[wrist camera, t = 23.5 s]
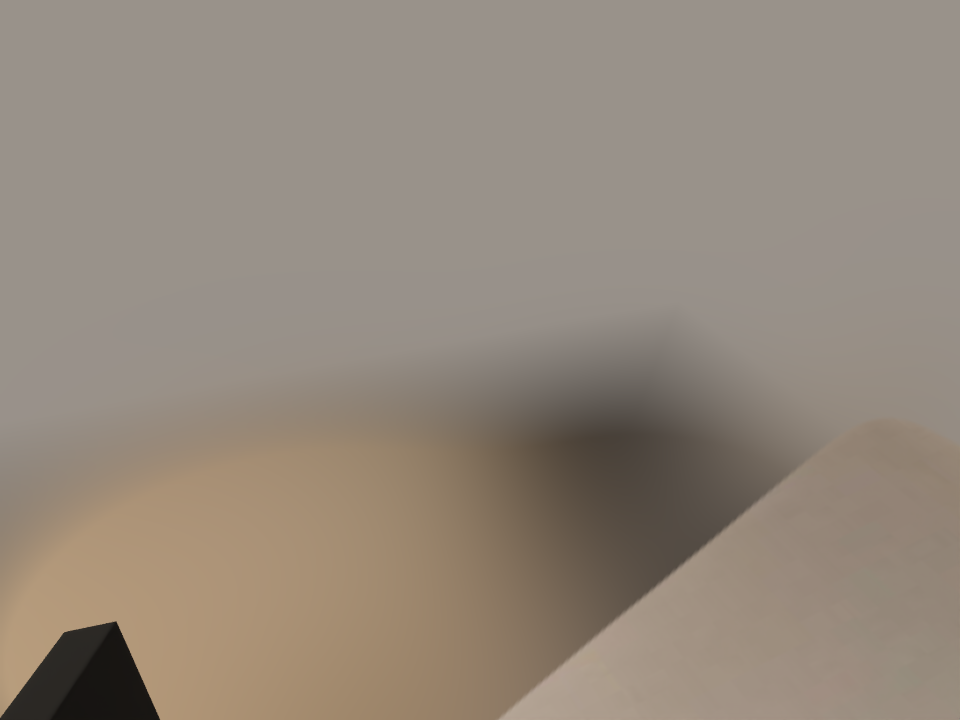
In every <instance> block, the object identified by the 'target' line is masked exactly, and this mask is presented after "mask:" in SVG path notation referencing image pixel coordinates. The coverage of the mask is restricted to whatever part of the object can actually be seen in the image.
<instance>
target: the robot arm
mask: <svg viewBox="0 0 960 720" xmlns="http://www.w3.org/2000/svg"><path fill="white" fill-rule="evenodd" d="M0 720H160V719H159V716H158V714H157V712H156V709H155V707H154V705H153V703H152V701H151V698H150V696H149V694H148V692H147V689H146V687H145V685H144V683H143V680H142V678H141V676H140V674H139V672H138V669H137V667H136V665H135V662H134V660H133V658H132V656H131V653H130V651H129V649H128V647H127V644H126V642H125V640H124V638H123V635H122V633H121V631H120V629H119V626H118V624H117V622H112V623H106V624H102V625H97V626H92V627H87V628H82V629H78V630H73V631H68V632H64V633H63V635H62V636H61V637H60V639H59V640H58V641H57V643H56V644H55V645H54V647H53V648H52V650H51V651H50V652H49V654H48V655H47V656H46V657H45V659H44V660H43V662H42V663H41V664H40V665H39V667H38V668H37V670H36V671H35V672H34V674H33V675H32V676H31V678H30V679H29V680H28V682H27V683H26V684H25V686H24V687H23V688H22V690H21V691H20V693H19V694H18V695H17V696H16V698H15V699H14V700H13V702H12V703H11V705H10V706H9V707H8V708H7V710H6V711H5V712H4V714H3V715H2V716H1V718H0Z"/></svg>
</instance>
